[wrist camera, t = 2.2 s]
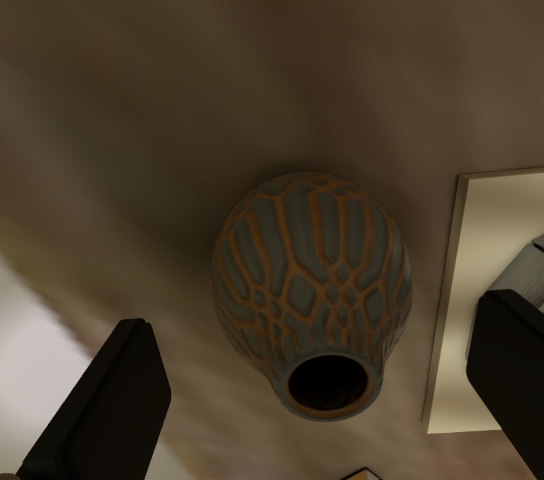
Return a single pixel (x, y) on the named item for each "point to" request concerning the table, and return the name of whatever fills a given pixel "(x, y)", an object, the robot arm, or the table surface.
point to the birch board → (477, 284)
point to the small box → (363, 476)
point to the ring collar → (521, 278)
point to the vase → (313, 291)
